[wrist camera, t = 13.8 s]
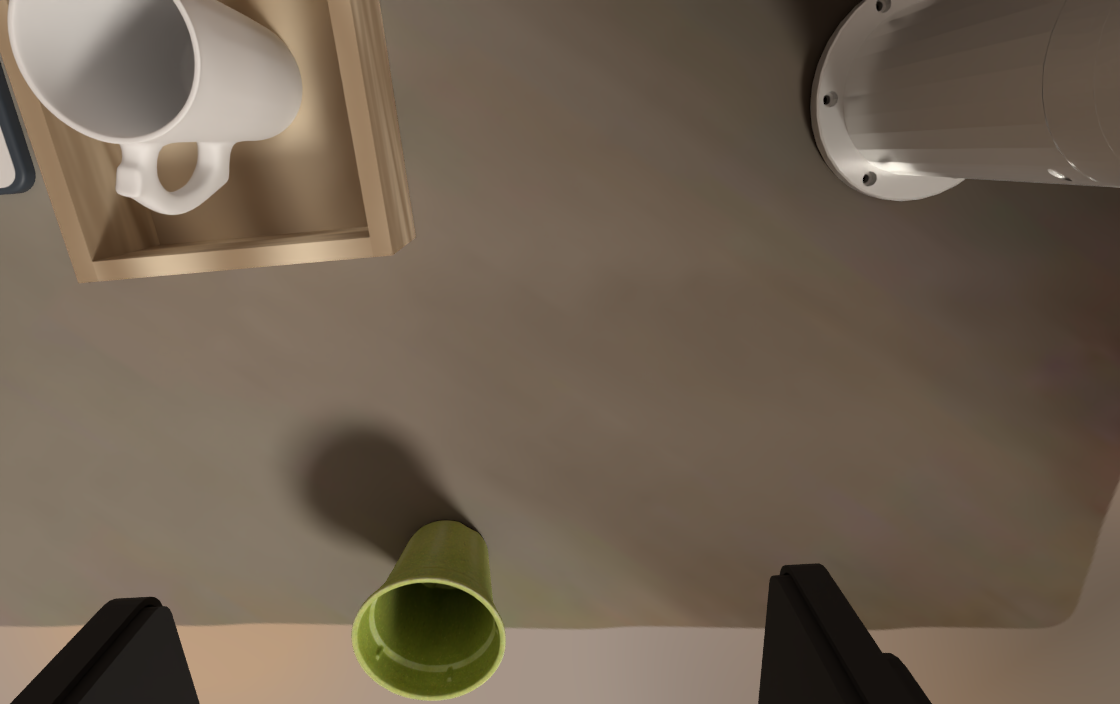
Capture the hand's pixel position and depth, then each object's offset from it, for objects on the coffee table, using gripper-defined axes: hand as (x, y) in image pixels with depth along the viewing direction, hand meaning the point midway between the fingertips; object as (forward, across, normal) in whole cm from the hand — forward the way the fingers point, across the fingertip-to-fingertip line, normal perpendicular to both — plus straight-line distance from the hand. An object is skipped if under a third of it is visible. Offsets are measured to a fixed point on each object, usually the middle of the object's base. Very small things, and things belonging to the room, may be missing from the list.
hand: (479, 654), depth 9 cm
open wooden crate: (+31, +15, -10) cm, 36 cm away
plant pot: (+31, +7, +21) cm, 38 cm away
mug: (+30, +15, -10) cm, 35 cm away
